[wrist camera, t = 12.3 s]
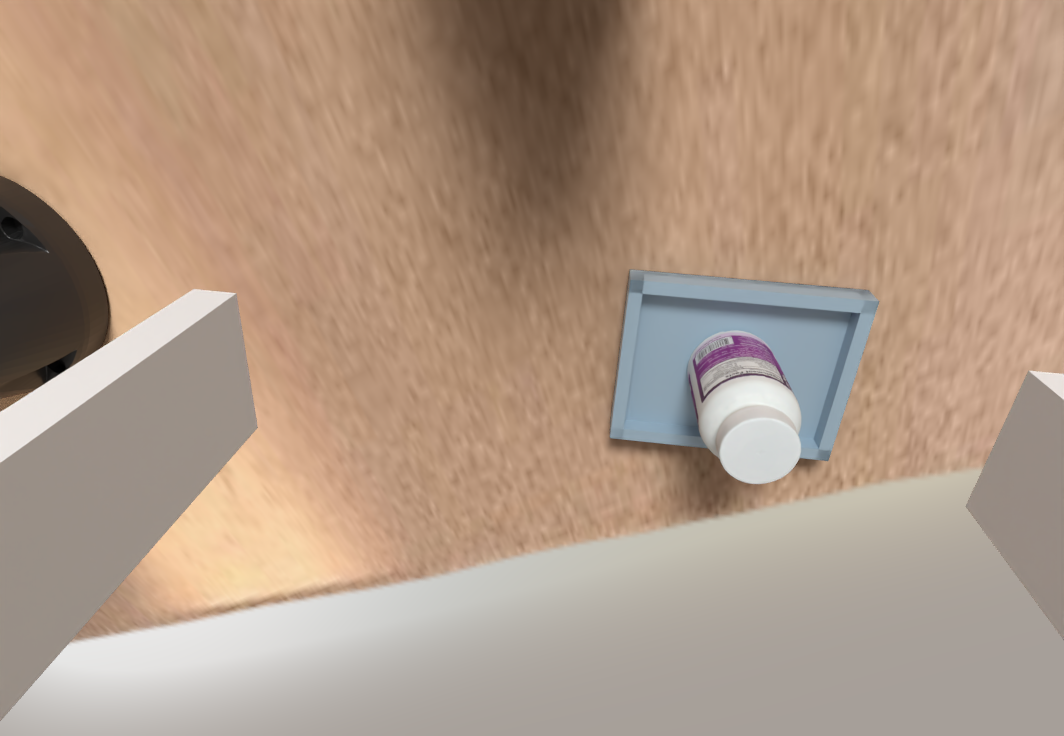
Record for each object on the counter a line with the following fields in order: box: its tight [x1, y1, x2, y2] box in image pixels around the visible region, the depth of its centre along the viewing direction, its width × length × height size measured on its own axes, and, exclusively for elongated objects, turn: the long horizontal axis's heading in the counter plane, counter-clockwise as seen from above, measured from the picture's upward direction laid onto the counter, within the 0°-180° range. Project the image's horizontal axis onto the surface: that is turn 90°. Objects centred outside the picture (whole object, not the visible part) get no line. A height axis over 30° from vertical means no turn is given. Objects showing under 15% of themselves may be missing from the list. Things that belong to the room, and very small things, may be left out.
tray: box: [610, 270, 879, 461], centre depth 41 cm, size 14×11×2 cm
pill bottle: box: [687, 330, 801, 484], centre depth 37 cm, size 5×5×10 cm
